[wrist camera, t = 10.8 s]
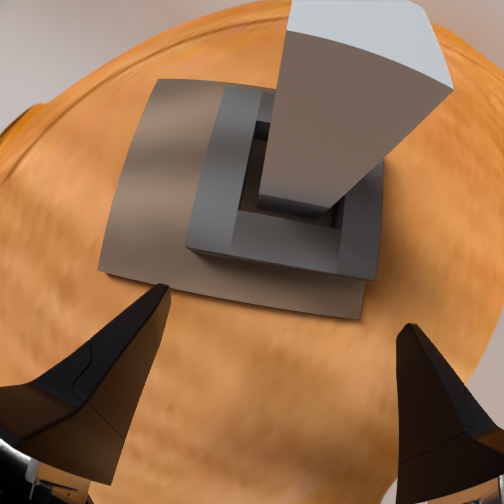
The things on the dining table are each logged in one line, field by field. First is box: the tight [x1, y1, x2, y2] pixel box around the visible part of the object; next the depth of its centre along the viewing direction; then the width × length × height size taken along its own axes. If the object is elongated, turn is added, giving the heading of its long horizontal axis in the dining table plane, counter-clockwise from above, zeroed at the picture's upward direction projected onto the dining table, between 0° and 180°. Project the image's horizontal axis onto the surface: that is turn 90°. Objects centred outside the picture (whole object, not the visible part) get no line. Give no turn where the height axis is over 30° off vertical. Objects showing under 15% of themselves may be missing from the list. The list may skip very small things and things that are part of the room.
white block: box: [257, 0, 454, 220], centre depth 12 cm, size 4×4×14 cm
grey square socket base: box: [97, 79, 383, 320], centre depth 18 cm, size 16×18×4 cm
